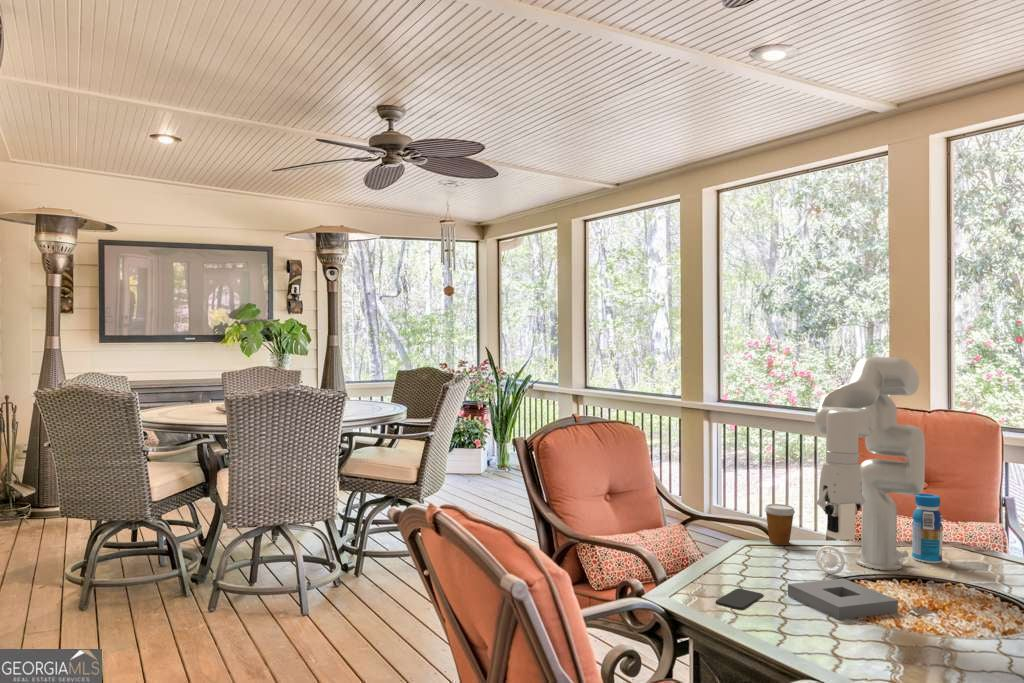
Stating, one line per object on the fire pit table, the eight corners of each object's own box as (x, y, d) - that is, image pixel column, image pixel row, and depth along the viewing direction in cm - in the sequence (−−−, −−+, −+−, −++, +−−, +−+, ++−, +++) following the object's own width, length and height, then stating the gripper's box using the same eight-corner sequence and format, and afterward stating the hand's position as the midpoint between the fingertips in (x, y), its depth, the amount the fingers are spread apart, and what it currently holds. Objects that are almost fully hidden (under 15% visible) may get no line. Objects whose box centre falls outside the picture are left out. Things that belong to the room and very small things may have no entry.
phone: (764, 594, 192) (742, 608, 181) (764, 597, 192) (742, 611, 181) (737, 587, 197) (713, 601, 185) (737, 591, 197) (713, 604, 185)
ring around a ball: (846, 575, 211) (846, 547, 211) (841, 580, 207) (841, 551, 207) (817, 569, 216) (817, 542, 216) (811, 574, 212) (811, 546, 212)
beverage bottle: (905, 558, 230) (906, 493, 231) (923, 555, 234) (924, 492, 234) (930, 565, 223) (931, 498, 223) (949, 562, 226) (949, 497, 227)
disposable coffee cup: (789, 547, 240) (790, 510, 240) (760, 542, 246) (760, 506, 246) (798, 542, 248) (798, 506, 248) (769, 537, 254) (770, 502, 254)
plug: (841, 534, 190) (842, 493, 190) (854, 539, 186) (855, 497, 186) (827, 535, 189) (827, 494, 189) (840, 540, 184) (840, 498, 185)
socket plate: (843, 589, 198) (843, 578, 198) (897, 612, 181) (897, 600, 181) (787, 595, 192) (787, 583, 192) (838, 619, 175) (838, 607, 175)
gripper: (857, 455, 194) (856, 525, 194) (804, 457, 189) (803, 529, 188) (879, 459, 187) (879, 532, 186) (825, 461, 181) (824, 536, 181)
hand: (841, 530), depth 187 cm, fingers closed on plug, 4 cm apart
